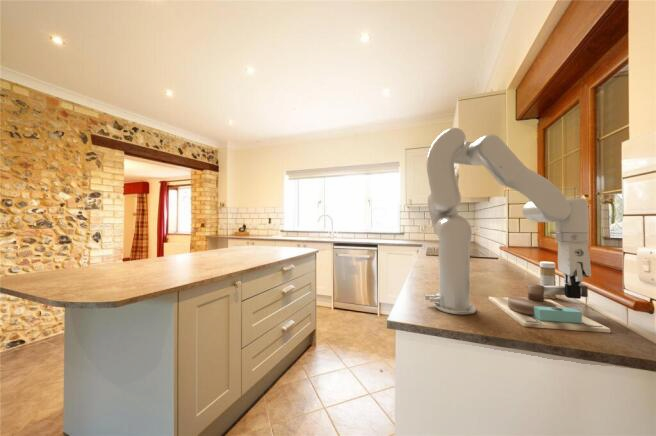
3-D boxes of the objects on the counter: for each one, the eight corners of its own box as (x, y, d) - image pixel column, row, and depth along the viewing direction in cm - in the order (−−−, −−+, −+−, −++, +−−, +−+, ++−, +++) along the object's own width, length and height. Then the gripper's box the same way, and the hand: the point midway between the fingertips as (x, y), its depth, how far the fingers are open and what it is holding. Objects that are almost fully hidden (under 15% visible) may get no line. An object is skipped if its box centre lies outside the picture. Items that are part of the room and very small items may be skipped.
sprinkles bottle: (557, 297, 98) (557, 262, 98) (553, 299, 95) (553, 263, 95) (542, 294, 101) (542, 260, 101) (538, 296, 99) (537, 261, 99)
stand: (523, 326, 72) (523, 322, 72) (488, 299, 96) (488, 296, 96) (610, 332, 68) (610, 328, 68) (550, 302, 92) (550, 299, 92)
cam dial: (566, 324, 70) (566, 297, 70) (501, 307, 83) (500, 285, 83) (588, 308, 81) (588, 286, 81) (528, 296, 95) (528, 276, 95)
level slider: (539, 320, 73) (539, 309, 73) (533, 316, 76) (533, 305, 76) (581, 323, 71) (581, 311, 71) (573, 318, 74) (573, 307, 74)
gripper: (601, 240, 71) (602, 306, 71) (576, 236, 85) (577, 292, 85) (565, 239, 74) (567, 303, 74) (547, 236, 88) (548, 290, 88)
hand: (572, 297), depth 79 cm, fingers closed
